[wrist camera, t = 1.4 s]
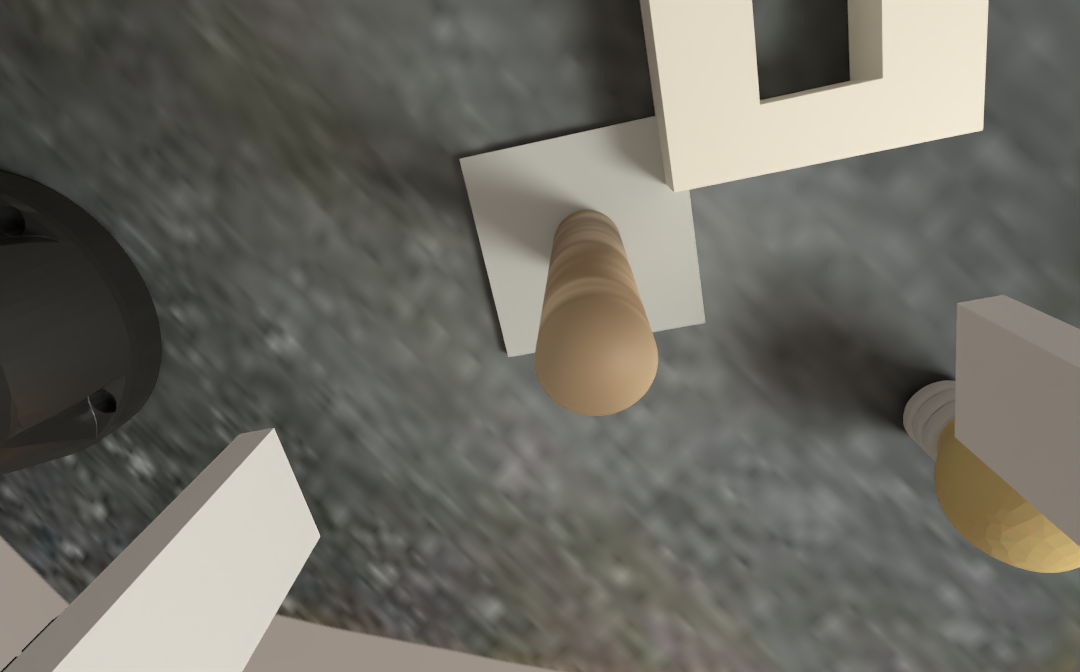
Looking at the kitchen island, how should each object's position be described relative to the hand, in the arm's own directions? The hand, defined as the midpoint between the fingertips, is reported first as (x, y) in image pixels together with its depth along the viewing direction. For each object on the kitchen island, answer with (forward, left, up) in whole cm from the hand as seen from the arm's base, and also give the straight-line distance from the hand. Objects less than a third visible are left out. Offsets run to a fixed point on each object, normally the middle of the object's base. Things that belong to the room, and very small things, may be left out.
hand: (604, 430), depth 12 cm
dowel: (0, 0, -18) cm, 18 cm away
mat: (0, 0, -19) cm, 19 cm away
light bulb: (+16, -12, -19) cm, 27 cm away
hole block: (+10, +7, -19) cm, 22 cm away
